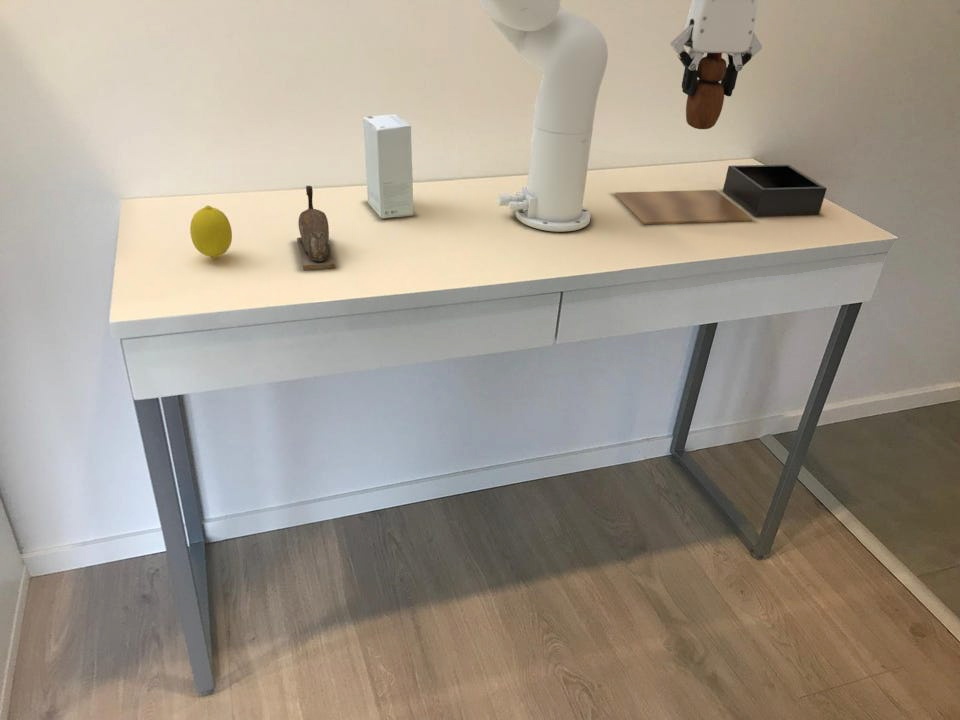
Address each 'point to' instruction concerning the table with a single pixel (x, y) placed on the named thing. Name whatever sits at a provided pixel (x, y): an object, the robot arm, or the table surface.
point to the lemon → (211, 232)
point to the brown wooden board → (681, 207)
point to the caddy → (774, 190)
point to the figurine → (314, 237)
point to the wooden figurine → (707, 93)
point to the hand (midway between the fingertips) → (706, 93)
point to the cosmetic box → (389, 165)
